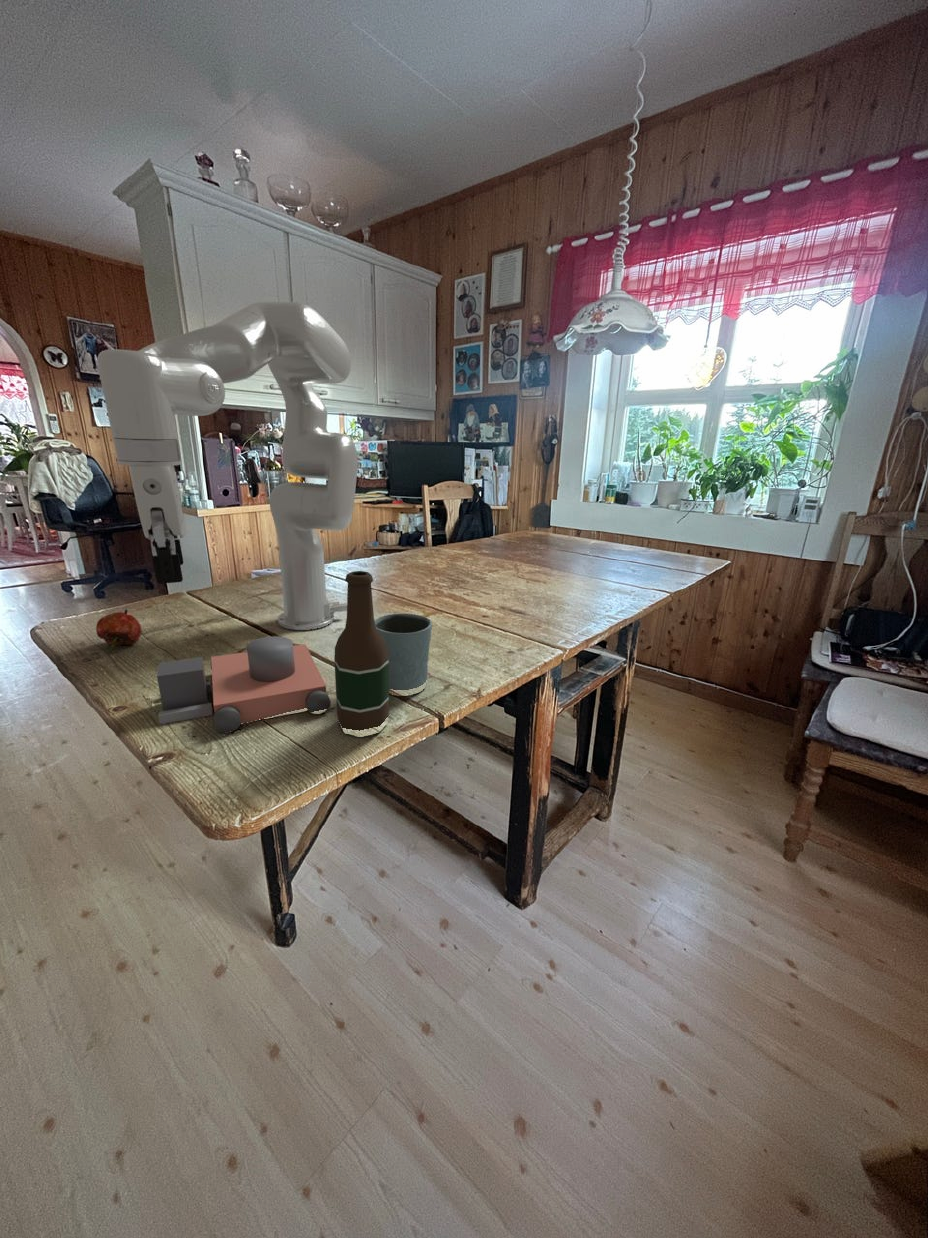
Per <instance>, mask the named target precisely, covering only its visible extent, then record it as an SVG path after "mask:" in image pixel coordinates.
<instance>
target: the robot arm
mask: <svg viewBox="0 0 928 1238" xmlns="http://www.w3.org/2000/svg"><path fill="white" fill-rule="evenodd" d="M350 355H351V354H350V351H349V349H348V347H347V344H346V343H345V341H344V340H343V338H341V336H340V335H339V334H338V332H336V330H335V329H334V328H333V327H332V326H331V325H330V324H329V322H327V321H326V319H324V317H323V316H321V314H319V313H318V312H317V311H316V310H315V309H314V308H312V307H311V306H309V305H308V304H305V303H303V302H298V301H263V302H262V301H260V302H255V303H252V304H248V305H246V306H245V307H243V308H241V309H240V310H238V311H235V313H233V314H231V315H229V316H227V317H226V318H224V319H222V320H220V321H218V322H217V323H214V324H212V325H209V326H206V327H201V328H198V329H195V330H191V331H189V332H186V333H182V334H179V335H175V336H172V337H168V338H165V339H161V340H159V341H156V342H153V343H151V344H148V345H146V346H144V347H142V348H141V349H140V350H132V349H131V350H130V349H116V348H114V349H104V350H102V351H101V352H99V354H98V355H97V360H96V362H97V369H98V373H99V378H100V383H101V387H102V392H103V397H104V402H105V407H106V412H107V415H108V420H109V426H110V430H111V435H112V440H113V444H114V446H113V447H114V450H115V454H116V459H117V463H118V465H120V466H128V468H129V473H130V479H131V482H132V488H133V494H134V497H135V503H136V506H137V512H138V516H139V520H140V524H141V527H142V528H141V529H142V531H143V534H144V537H145V538H146V539H148V540H150V547H151V553H152V555H151V560H152V566H153V570H154V576H155V582H156V583H157V584H158V585H161V584H162V585H163V584H172V583H173V584H174V583H181V582H183V581H184V580H183V579H184V578H183V572H182V567H181V566H183V564H184V558H183V551H182V545H181V539H183V538H184V537H185V536H186V531H187V530H186V529H187V526H186V522H185V521H186V520H185V516H184V511H183V505H182V504H183V503H182V499H181V492H180V487H179V482H178V478H177V474H176V469H175V466H179V465H182V464H183V462H182V456H181V450H180V444H179V440H178V439H179V437H178V432H177V425H176V420H175V415H177V416H188V417H189V416H191V417H192V416H193V417H194V416H195V417H202V416H203V417H204V416H209V415H212V414H214V413H216V412H218V410H220V408H221V407H223V404H224V402H225V398H226V389H225V385H224V384H230V383H231V384H232V383H235V382H239V381H243V380H247V379H248V378H250V377H252V376H254V375H255V374H256V373H257V372H258V371H260V370H261V369H263V368H264V367H265V366H266V365H268V367H269V369H270V372H271V374H272V376H273V377H274V379H275V382H276V384H277V386H278V387H279V389H280V393H281V394H282V396H283V400H284V405H285V420H284V431H283V432H284V433H283V440H282V441H283V442H282V452H281V453H282V456H281V457H282V458H281V460H282V466H283V468H284V470H285V471H286V472H287V473H288V474H290V475H292V476H295V477H299V478H307V479H321V480H327V484H321V483H320V484H319V483H313V482H297V481H296V482H295V481H291V482H289V481H288V482H282V483H280V484H278V485H276V486H275V487H274V488H273V489H272V491H271V492H270V495H269V509H270V513H271V517H272V519H273V523H274V526H275V531H276V535H277V536H276V537H277V543H278V554H279V564H280V565H279V566H280V577H281V578H280V579H281V587H282V599H283V613H281V614H280V615H279V616H277V623H278V625H279V626H280V627H281V628H285V629H287V630H293V631H310V630H311V629H312V630H317V628H318V629H321V627H322V628H325V627H327V626H329V625H331V624H333V622H334V621H335V615H334V614H335V613H336V612H337V613H338V612H340V613H341V612H342V613H343V612H347V602H346V603H340V602H339V601H334V602H329V601H328V599H327V588H326V573H325V572H326V571H325V570H326V569H325V568H326V567H325V550H324V545H323V542H322V540H321V538H320V536H319V534H318V533H317V531H316V530H324V531H334V532H335V531H343V530H345V529H347V528H348V527H349V525H350V524H351V522H352V519H353V516H354V515H353V514H354V506H355V498H356V497H355V496H356V489H357V488H356V487H357V477H358V466H359V465H358V462H359V461H358V460H359V459H358V451H357V447H356V444H355V442H354V441H353V440H352V438H351V437H349V436H348V435H346V434H343V433H340V432H327V426H328V425H327V424H328V410H327V407H326V405H325V403H324V401H323V399H322V398H321V396H320V395H319V394H318V392H317V390H315V388H314V387H313V385H312V384H330V385H331V384H332V385H333V384H334V385H335V384H336V385H337V384H341V383H343V382H344V381H346V380H347V379H348V377H349V375H350V372H351V368H352V361H351V356H350ZM178 536H179V538H180V539H178ZM333 620H334V621H333ZM330 623H331V624H330ZM328 624H329V625H328ZM324 626H325V627H324Z"/></svg>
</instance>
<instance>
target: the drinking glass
mask: <svg viewBox="0 0 928 1238" xmlns="http://www.w3.org/2000/svg"><path fill="white" fill-rule="evenodd" d="M374 621H375V625H376V629H377V630H378V632H379V633H380V634H381V636H382V637H383V639H384V641H385V644H386V646H387V649H388V660H389V689H393V690H409V689H413V688H417V687H419V686H421V685H423V684H424V683H425V682H426V680H427V681H428V673H429V672H428V670H429V669H428V667H429V666H428V665H429V660H430V658H429V653H430V646H431V645H430V644H431V639H432V637H431V636H432V631H433V630H432V628H433V622H432V620H430V619H429V618H427V617H426V616H424V615H423V616H422V615H419V614H415V613H414V614H413V613H393V614H385V615H382V616H380V617H378V618H376V619H374Z"/></svg>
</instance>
